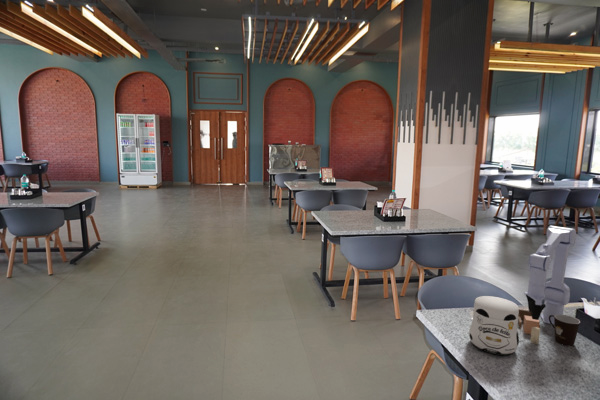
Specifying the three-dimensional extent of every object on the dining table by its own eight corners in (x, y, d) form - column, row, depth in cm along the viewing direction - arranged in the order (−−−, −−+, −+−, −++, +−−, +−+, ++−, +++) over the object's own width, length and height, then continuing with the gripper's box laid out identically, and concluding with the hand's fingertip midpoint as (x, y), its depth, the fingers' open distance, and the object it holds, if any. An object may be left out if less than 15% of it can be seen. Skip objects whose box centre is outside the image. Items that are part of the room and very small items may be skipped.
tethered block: (522, 328, 168) (524, 315, 168) (536, 330, 166) (537, 317, 166) (527, 342, 156) (529, 328, 155) (542, 345, 154) (543, 331, 153)
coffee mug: (581, 349, 152) (584, 324, 150) (557, 346, 153) (560, 322, 152) (567, 335, 163) (570, 312, 162) (545, 332, 165) (547, 310, 163)
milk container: (486, 360, 142) (490, 313, 139) (459, 337, 159) (463, 295, 156) (528, 357, 144) (533, 311, 142) (497, 335, 161) (501, 294, 159)
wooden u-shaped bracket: (516, 319, 177) (517, 308, 177) (536, 322, 174) (537, 312, 174) (519, 327, 169) (520, 316, 169) (539, 330, 166) (541, 319, 166)
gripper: (522, 276, 165) (519, 307, 167) (528, 288, 152) (525, 320, 153) (542, 279, 162) (538, 310, 164) (549, 290, 149) (545, 324, 151)
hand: (533, 315), depth 158 cm, fingers open, 7 cm apart
